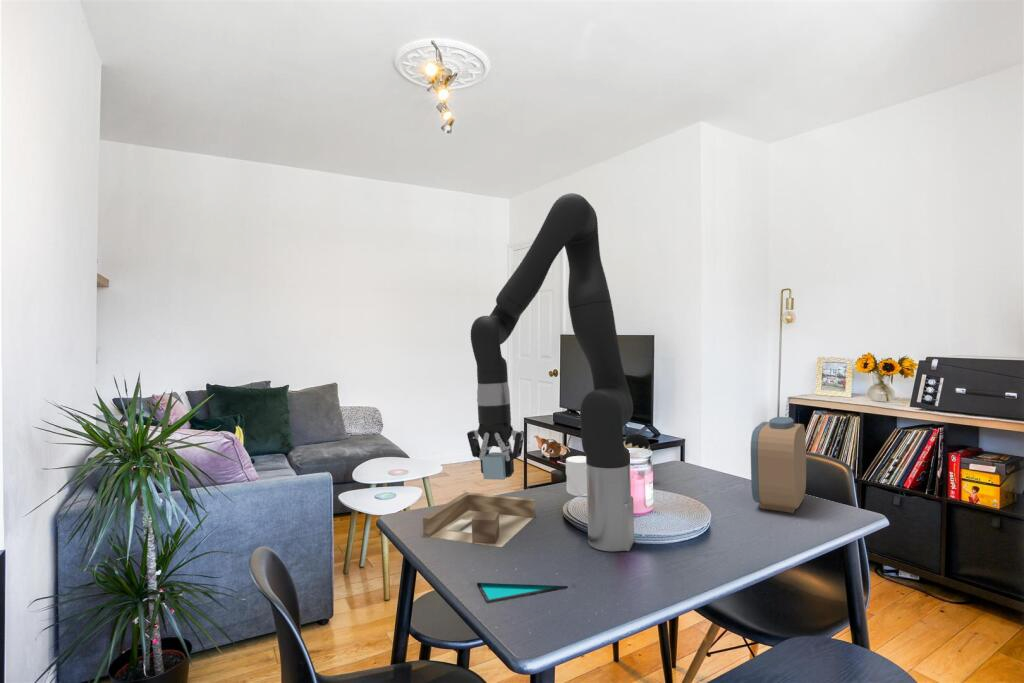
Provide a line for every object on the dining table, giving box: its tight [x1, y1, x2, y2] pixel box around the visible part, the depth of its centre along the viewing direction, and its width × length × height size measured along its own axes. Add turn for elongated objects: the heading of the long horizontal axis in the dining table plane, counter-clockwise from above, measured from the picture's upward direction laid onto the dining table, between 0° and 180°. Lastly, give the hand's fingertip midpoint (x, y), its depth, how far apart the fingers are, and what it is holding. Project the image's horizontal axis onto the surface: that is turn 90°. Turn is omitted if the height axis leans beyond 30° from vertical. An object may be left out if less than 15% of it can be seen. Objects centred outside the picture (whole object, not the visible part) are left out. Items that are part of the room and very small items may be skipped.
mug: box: [565, 455, 587, 497], centre depth 149 cm, size 12×9×8 cm
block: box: [482, 451, 508, 481], centre depth 122 cm, size 5×5×5 cm
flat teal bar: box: [476, 582, 569, 604], centre depth 95 cm, size 7×1×15 cm
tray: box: [422, 491, 536, 548], centre depth 123 cm, size 19×20×5 cm
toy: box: [623, 433, 653, 465], centre depth 155 cm, size 9×7×15 cm
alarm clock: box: [750, 416, 807, 514], centre depth 135 cm, size 21×10×22 cm, turn 144°
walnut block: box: [471, 512, 499, 544], centre depth 114 cm, size 5×5×5 cm
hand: (497, 475), depth 122 cm, fingers closed on block, 5 cm apart
